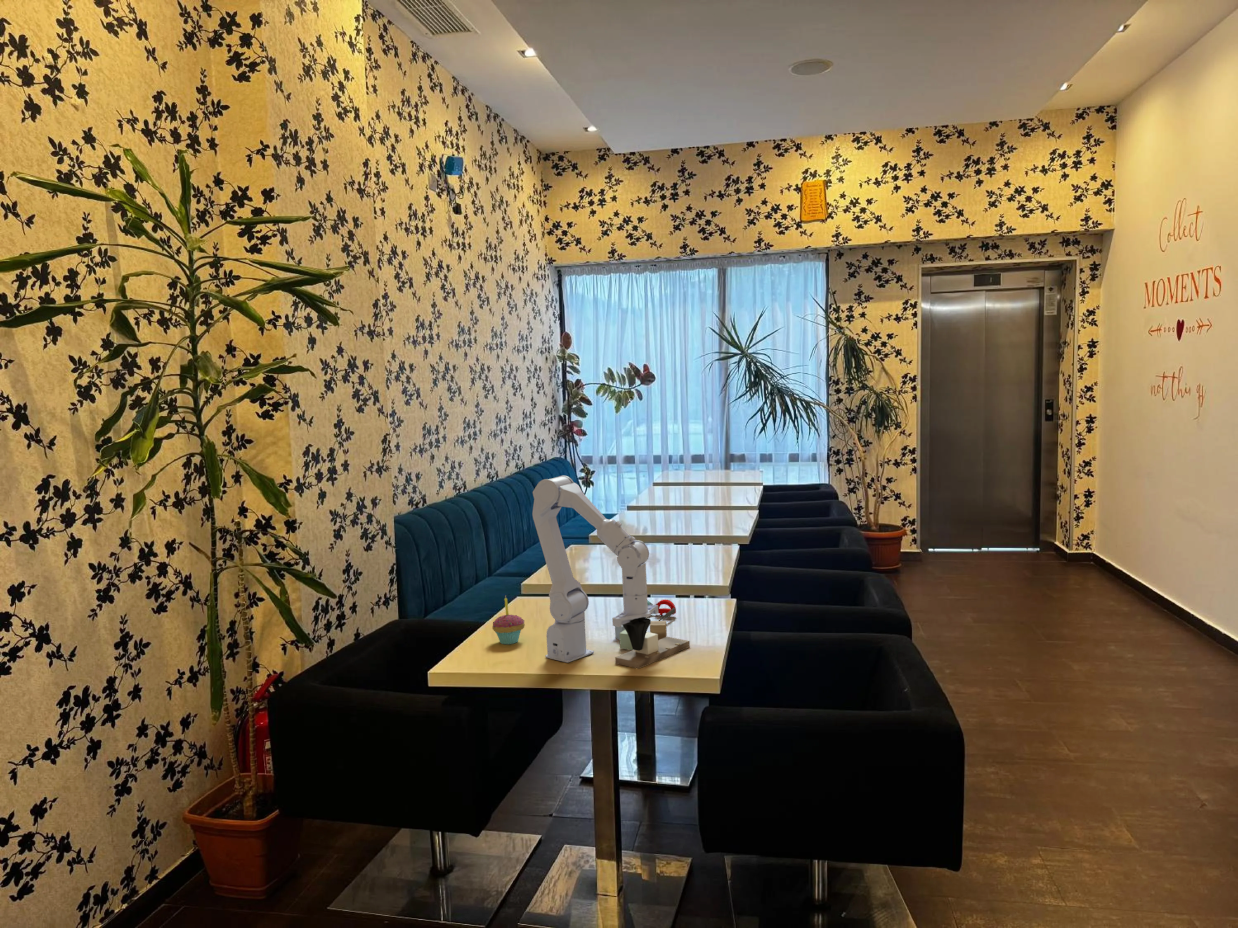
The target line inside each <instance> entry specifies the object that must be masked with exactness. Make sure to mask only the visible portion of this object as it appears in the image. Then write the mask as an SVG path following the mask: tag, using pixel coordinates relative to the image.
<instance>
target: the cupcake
mask: <svg viewBox="0 0 1238 928" xmlns="http://www.w3.org/2000/svg"><path fill="white" fill-rule="evenodd" d="M504 608H505V614H504V615H501V616H498V617H497V618H496V619H494V621H493V622H492V628H491V629H492V630H493V631H494V632H495V634H496V637H498V638H497V639H498V640H499V644H502V645H513V644H517V643H518V642H519V638H520V636H521V631H522V630H523V629H524V628H525V626H526V625H525V620H524V619H523V618H522V617H521V616H519V615H517V614H510V613H509V605H508V598H507V595H505V596H504Z"/></svg>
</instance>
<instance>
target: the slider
mask: <svg viewBox="0 0 1238 928" xmlns="http://www.w3.org/2000/svg"><path fill="white" fill-rule="evenodd" d="M656 651H658V634H655V633H650V631H647V632H646V635H645V639H644V644H643V648H642V650H640V651H638V650H635V652H638V653H643V654H647V655H648V654H651V653H653V652H656Z"/></svg>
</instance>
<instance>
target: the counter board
mask: <svg viewBox="0 0 1238 928" xmlns="http://www.w3.org/2000/svg"><path fill="white" fill-rule="evenodd" d="M690 647H691V645H690V640H688V639H687V640H686V639H681V638H677V637H670V636H667V637H665V638H663V639H660V640H658V651H656V652H653V653H651V654H648V655H647V654H643V653H638V652H635V650H631V651H630V650H629V651H627V652H624V653H623V654H620V655H617V656H615V657H614V658H615V660H614V662H615V664H617V665H621V666H625V667H628V668H629V667H630V668H633V669H641V668H643V667H645V666H648V665H650V664H653V663H655V662H657V661H660V660H662V659H665V658H667V657H669V656H671V655H674V654H677V653H679V652H680V651H683V650H686V649H688V648H690Z"/></svg>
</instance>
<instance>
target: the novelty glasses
mask: <svg viewBox="0 0 1238 928" xmlns="http://www.w3.org/2000/svg"><path fill="white" fill-rule="evenodd" d="M647 604H648V605H652V604H653V603H652V602H650V600H648V599H647ZM655 605H658V613H657V614H659V616H660V615H662V616H660V618H659V619H658V621H663V620H664V619H667V618H669V617H670V616H673V615H675V614H677V608H676V606H675V604H674V602H672V601H671V600H670V599H666V598H665V599H661V600H660V601H658V602H656V604H655ZM662 605H665V606H668V607H669V608H666V607H662V608H660V607H661V606H662ZM623 611H624V609H623ZM623 611H622V612H623Z"/></svg>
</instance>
